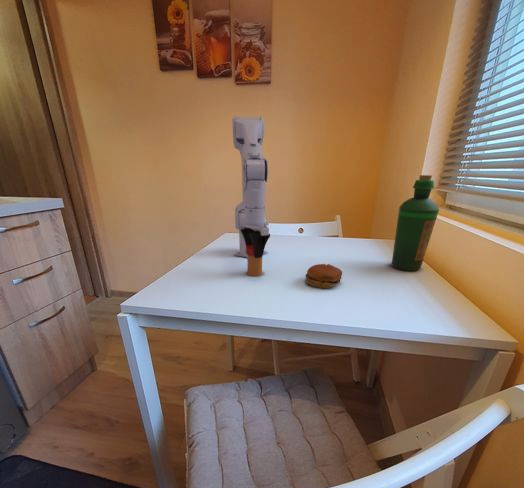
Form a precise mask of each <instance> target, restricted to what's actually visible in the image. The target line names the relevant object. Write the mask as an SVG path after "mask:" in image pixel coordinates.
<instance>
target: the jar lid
mask: <svg viewBox="0 0 524 488" xmlns="http://www.w3.org/2000/svg"><path fill="white" fill-rule="evenodd" d="M246 254H247V255H251V256H254V251H253V245H249V246H246Z"/></svg>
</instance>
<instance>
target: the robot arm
mask: <svg viewBox="0 0 524 488" xmlns="http://www.w3.org/2000/svg"><path fill="white" fill-rule="evenodd" d="M231 119H232V120H231V121H232V140H233V141H232V142H233V148H234V149H236V150H238V151H239V155H240V159H241V185H242V186H241V191H242V201H241V202H239V203H238V204H237V205H236V206H235V208H234V212H235V213H234V225H235V229H236V230H237V231H238V237H239V241H238V243H239V251H238V252H236V253H234V256H237V257H241V258H242V257H243V258H247V254H246V246H249V245H253V251H254V257H255V258H261V257H262V258H263V255H264V254H266V252H267V251H266V250H265V249H266V246H267V242H268V241H269V239H270V237H271V234H270V227H268V226H269V225H270V224H269V222H268V221H266V183H267V182H268V178H269V164H268V159H267V158H266V157H264V151H263V147H262V146H263V143H264V142H263V141H264V137H265V119H264V117H262V116H260V117H254V116H253V117H251V116H250V117H248V116H235V115H234V116H233V117H232V118H231Z"/></svg>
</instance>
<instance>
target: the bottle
mask: <svg viewBox="0 0 524 488" xmlns="http://www.w3.org/2000/svg"><path fill="white" fill-rule="evenodd" d="M432 178H433V175H430V174H429V175H428V174H420V175H419V179H416V180H415V181H414V184H413V186H412V189H413V190H414V191H413V197H411V198H408V199H406V200H405V201H403V202H402V203H401V204H400V206H398V207H399V208H398V215H397V221H396V228H395V235H394V242H393V243H394V244H393V252H392V257H391V266H392V267H394V268H396V269H397V270H400V271H406V272H407V271H408V272H413V271H419V270H421V269H422V265H423V262H424V259H425V256H426V253H427V249H428V246H429V243H430V240H431V237H432V233H433V231H434V227H435V224H436V221H437V218H438V216H439V215H438V214H439V212H440V209H439V206H438V204H437V203H436V202H435V201H434V200H433V199H431V198H430V196H431V192H432V190H434V189H435V180H434V179H432Z"/></svg>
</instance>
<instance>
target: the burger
mask: <svg viewBox="0 0 524 488" xmlns="http://www.w3.org/2000/svg"><path fill="white" fill-rule="evenodd" d="M342 276H343V271H342V269H340V268H339V267H338V266H334V265H332V264H330V263H327V264H326V263H319V264H314V265H312V266H310V267H309V268H308V269H307V271H306V273H305V279H306V283H307V284H308V285H309V286H312V287H315V288H319V289H330V288H333V287H335V286H336V285H338V284H339V283H341V280H342Z"/></svg>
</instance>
